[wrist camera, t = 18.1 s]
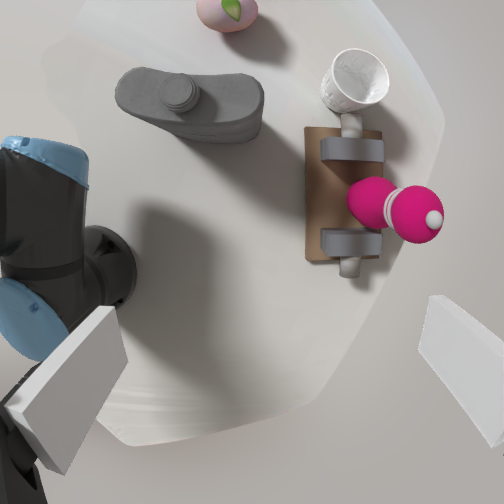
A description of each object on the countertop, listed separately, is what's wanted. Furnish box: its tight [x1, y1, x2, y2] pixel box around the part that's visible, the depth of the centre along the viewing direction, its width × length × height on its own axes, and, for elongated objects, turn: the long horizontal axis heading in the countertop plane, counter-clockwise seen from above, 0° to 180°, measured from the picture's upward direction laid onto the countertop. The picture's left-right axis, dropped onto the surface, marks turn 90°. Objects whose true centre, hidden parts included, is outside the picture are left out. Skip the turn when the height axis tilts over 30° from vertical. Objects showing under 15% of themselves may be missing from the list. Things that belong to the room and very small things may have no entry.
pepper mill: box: [346, 176, 444, 244], centre depth 33 cm, size 7×7×20 cm
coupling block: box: [304, 113, 384, 278], centre depth 41 cm, size 12×23×6 cm, turn 2°
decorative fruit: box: [197, 0, 258, 32], centre depth 32 cm, size 9×8×10 cm
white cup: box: [320, 49, 390, 114], centre depth 35 cm, size 8×8×10 cm
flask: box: [115, 67, 264, 144], centre depth 32 cm, size 15×6×20 cm, turn 80°
